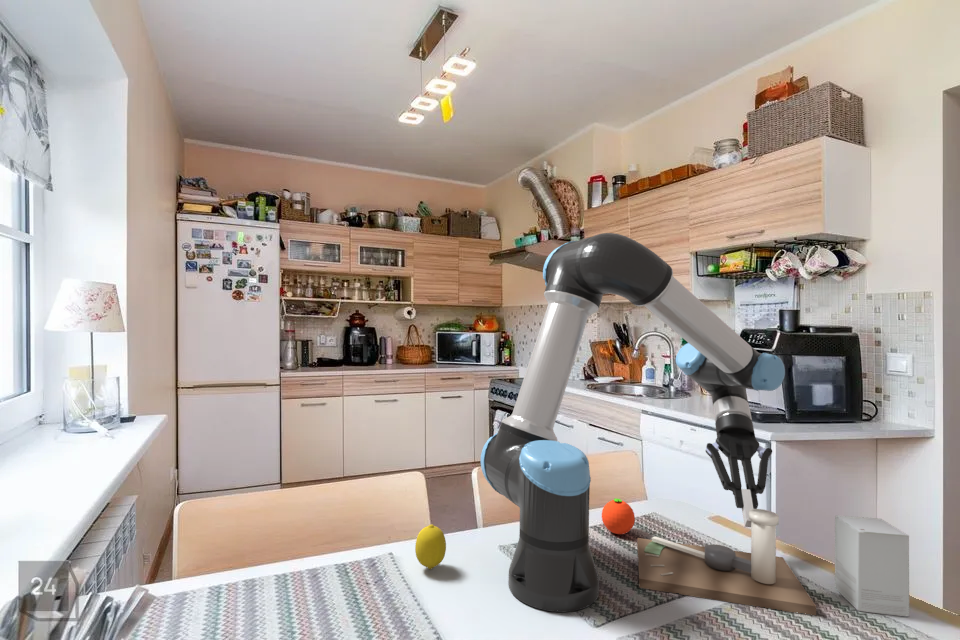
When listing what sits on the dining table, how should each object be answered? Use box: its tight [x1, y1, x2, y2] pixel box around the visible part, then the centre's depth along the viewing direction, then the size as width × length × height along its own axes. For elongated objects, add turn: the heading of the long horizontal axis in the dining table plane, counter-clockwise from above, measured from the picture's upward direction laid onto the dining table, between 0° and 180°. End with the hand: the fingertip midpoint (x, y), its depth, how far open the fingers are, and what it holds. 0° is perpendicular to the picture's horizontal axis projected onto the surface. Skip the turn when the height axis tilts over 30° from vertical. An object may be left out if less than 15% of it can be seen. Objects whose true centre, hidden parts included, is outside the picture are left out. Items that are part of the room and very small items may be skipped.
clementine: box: [601, 498, 636, 535], centre depth 106 cm, size 8×7×7 cm
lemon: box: [414, 523, 447, 570], centre depth 88 cm, size 6×6×8 cm
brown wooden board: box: [636, 537, 817, 616], centre depth 87 cm, size 26×17×2 cm, turn 73°
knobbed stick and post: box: [651, 508, 780, 584], centre depth 89 cm, size 22×5×11 cm, turn 45°
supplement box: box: [834, 515, 910, 617], centre depth 80 cm, size 7×7×13 cm
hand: (750, 523), depth 94 cm, fingers closed
